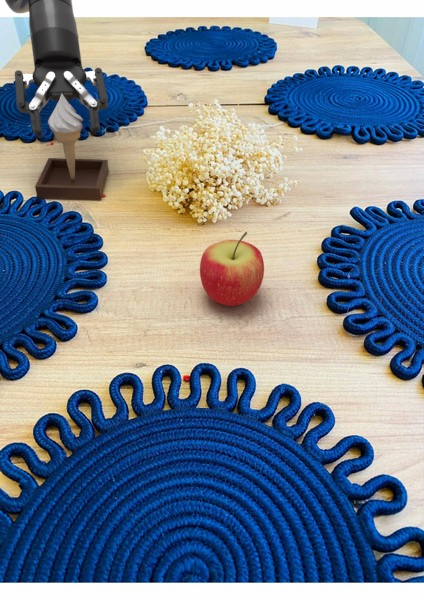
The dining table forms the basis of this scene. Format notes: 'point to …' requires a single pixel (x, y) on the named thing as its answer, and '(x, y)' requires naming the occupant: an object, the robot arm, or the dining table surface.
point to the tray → (61, 185)
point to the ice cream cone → (66, 130)
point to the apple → (231, 271)
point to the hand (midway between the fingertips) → (67, 134)
